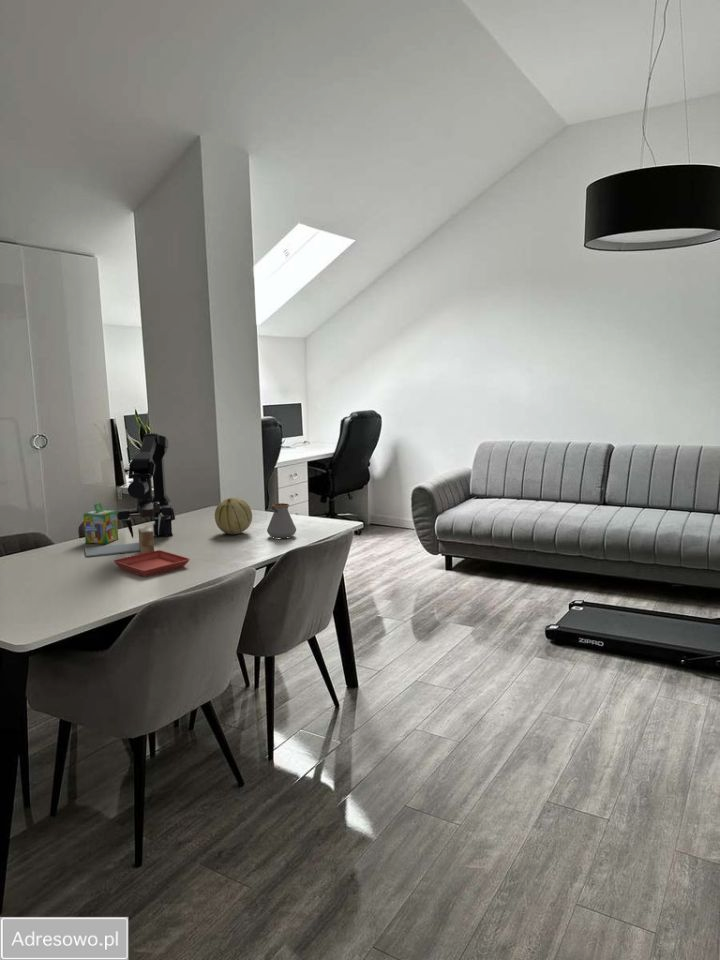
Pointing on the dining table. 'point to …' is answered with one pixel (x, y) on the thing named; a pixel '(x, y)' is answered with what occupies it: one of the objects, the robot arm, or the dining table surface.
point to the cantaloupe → (233, 516)
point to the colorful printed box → (100, 526)
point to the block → (146, 539)
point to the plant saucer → (152, 562)
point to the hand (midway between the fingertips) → (146, 536)
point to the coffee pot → (281, 522)
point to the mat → (112, 549)
